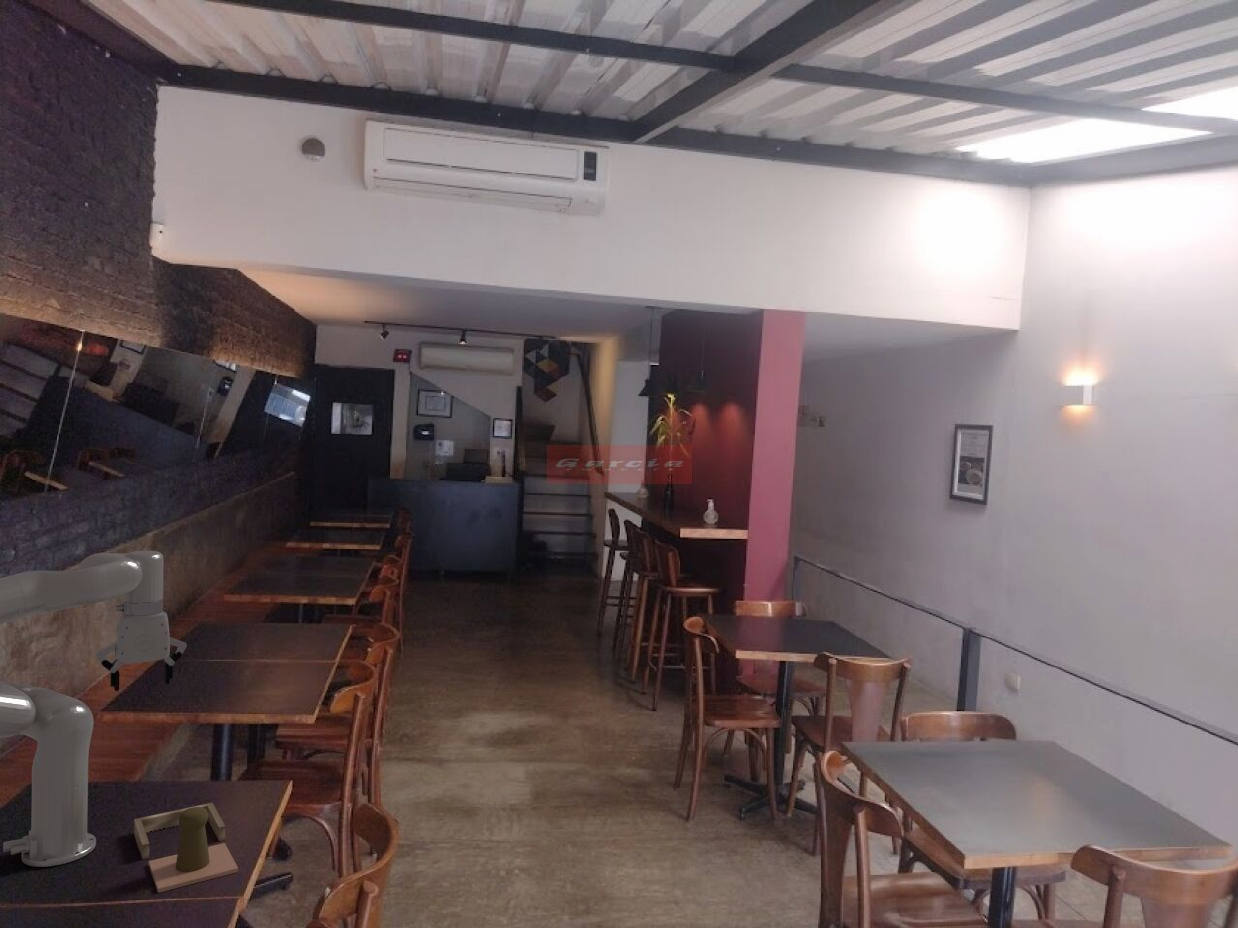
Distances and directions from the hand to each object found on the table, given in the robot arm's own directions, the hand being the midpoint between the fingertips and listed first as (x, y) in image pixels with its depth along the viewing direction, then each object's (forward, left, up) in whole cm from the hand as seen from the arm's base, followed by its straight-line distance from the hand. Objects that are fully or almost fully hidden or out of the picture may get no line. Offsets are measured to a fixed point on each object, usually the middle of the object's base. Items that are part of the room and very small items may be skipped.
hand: (141, 685), depth 184 cm
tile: (+6, -27, -30) cm, 41 cm away
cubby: (+6, -12, -30) cm, 33 cm away
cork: (+6, -27, -30) cm, 40 cm away
